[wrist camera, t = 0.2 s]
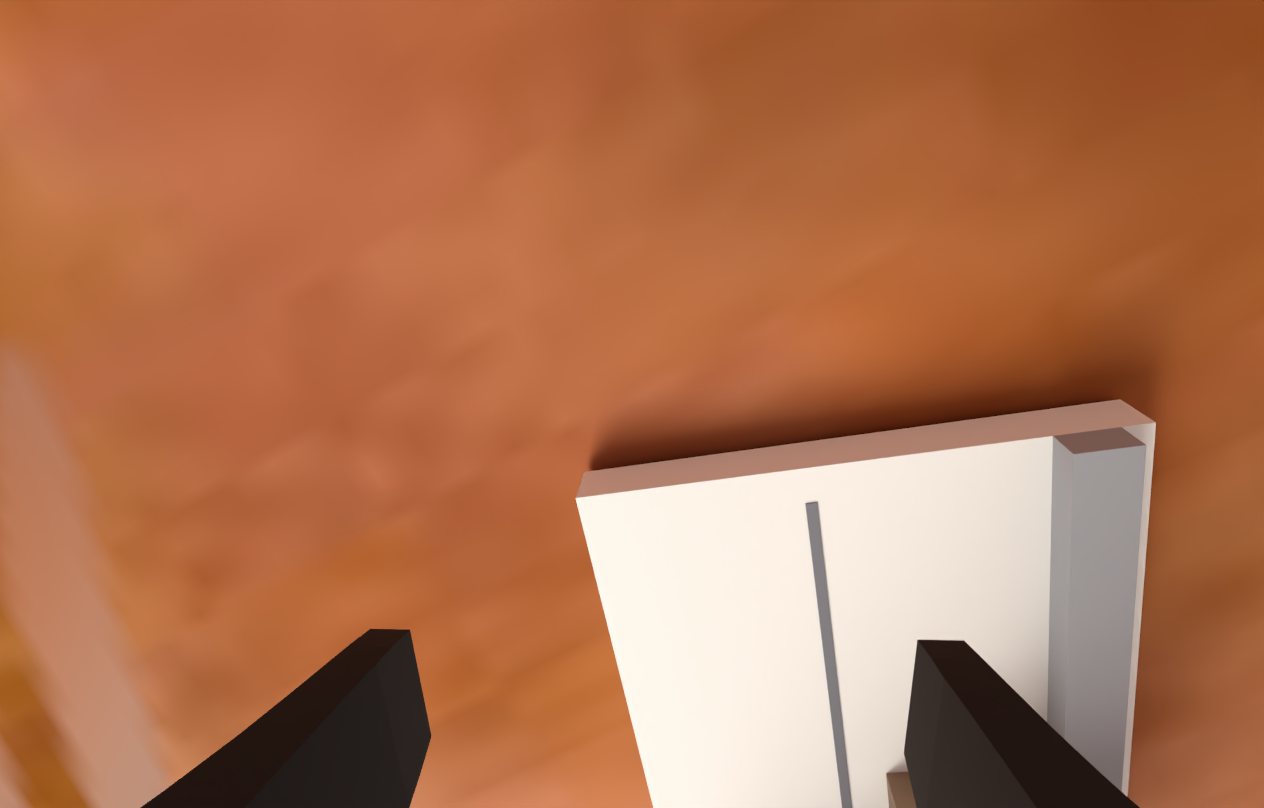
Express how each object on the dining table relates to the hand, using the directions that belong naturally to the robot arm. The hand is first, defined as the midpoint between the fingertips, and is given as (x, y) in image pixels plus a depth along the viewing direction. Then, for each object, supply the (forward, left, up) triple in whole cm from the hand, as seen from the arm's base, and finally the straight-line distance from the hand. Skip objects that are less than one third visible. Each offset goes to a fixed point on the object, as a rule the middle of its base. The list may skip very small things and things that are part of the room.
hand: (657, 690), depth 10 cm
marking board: (-10, -4, -10) cm, 15 cm away
